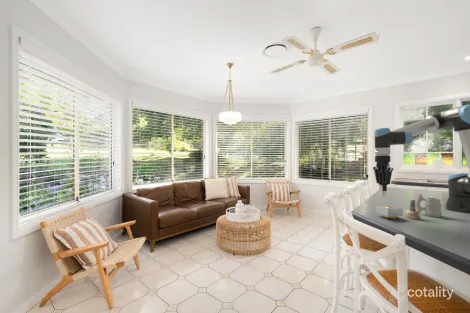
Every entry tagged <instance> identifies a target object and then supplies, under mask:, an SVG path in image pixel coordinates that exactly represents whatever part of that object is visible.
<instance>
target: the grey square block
mask: <svg viewBox="0 0 470 313" xmlns="http://www.w3.org/2000/svg"><path fill="white" fill-rule="evenodd" d="M386 207H392V208H386ZM375 210H376V212H375V213H377V214H379V215H381V216H382V215H385V216H397V217H402V216H403V217H404V211H403V210H404V208H403V207H398V206H396V205H390V204H388V205H387V204H385V205H376V208H375Z"/></svg>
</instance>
